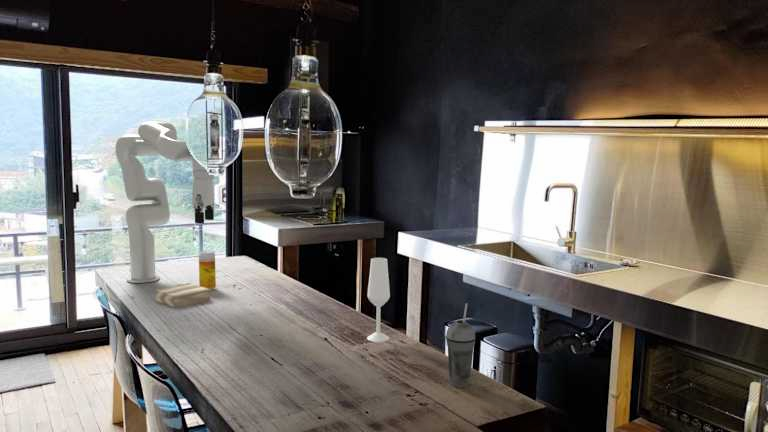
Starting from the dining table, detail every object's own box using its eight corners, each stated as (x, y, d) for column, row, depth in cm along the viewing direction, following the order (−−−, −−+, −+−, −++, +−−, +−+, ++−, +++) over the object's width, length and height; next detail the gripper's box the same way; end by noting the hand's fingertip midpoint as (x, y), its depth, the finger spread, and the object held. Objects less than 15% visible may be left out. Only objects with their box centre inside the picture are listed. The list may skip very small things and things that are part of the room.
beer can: (211, 291, 222) (210, 253, 220) (196, 290, 223) (195, 252, 222) (218, 288, 228) (217, 250, 226) (204, 287, 229) (203, 250, 227)
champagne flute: (368, 342, 168) (369, 261, 165) (365, 335, 174) (366, 257, 171) (391, 341, 169) (392, 261, 166) (386, 333, 175) (388, 256, 172)
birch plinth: (155, 300, 209) (154, 289, 208) (189, 293, 220) (189, 283, 219) (175, 307, 200) (175, 296, 200) (210, 299, 211) (210, 289, 210)
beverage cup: (441, 377, 143) (443, 299, 140) (470, 377, 143) (473, 299, 141) (447, 390, 136) (449, 307, 133) (477, 389, 136) (480, 307, 134)
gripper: (202, 173, 219) (203, 218, 221) (183, 176, 202) (185, 224, 204) (221, 174, 219) (222, 218, 221) (204, 176, 202) (205, 224, 204)
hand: (204, 221), depth 213 cm, fingers open, 9 cm apart
